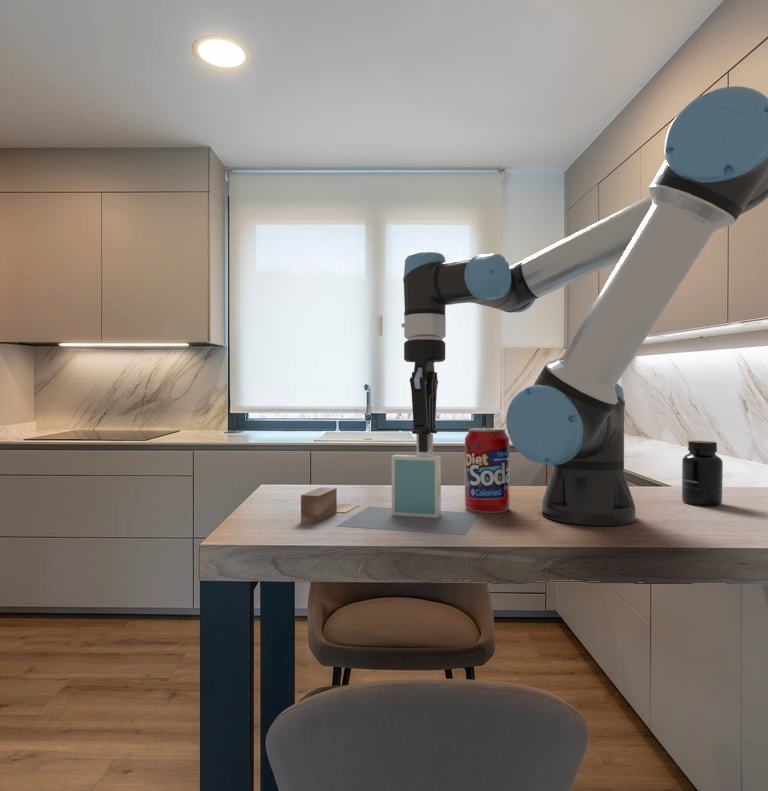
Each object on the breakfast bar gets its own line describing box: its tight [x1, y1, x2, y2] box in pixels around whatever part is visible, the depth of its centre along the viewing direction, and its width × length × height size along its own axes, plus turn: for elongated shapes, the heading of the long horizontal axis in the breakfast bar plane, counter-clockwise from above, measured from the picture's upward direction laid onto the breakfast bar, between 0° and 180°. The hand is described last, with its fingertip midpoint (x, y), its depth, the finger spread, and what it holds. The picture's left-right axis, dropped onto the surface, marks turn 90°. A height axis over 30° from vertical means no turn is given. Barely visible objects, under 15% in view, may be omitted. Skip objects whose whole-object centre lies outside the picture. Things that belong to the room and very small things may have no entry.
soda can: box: [464, 427, 510, 514], centre depth 100 cm, size 8×8×15 cm
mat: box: [336, 506, 480, 536], centre depth 92 cm, size 20×16×1 cm
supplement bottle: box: [681, 440, 724, 507], centre depth 109 cm, size 7×7×12 cm
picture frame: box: [391, 454, 442, 518], centre depth 95 cm, size 8×2×10 cm, turn 74°
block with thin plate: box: [300, 487, 360, 524], centre depth 97 cm, size 6×16×5 cm, turn 163°
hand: (424, 469), depth 102 cm, fingers closed
